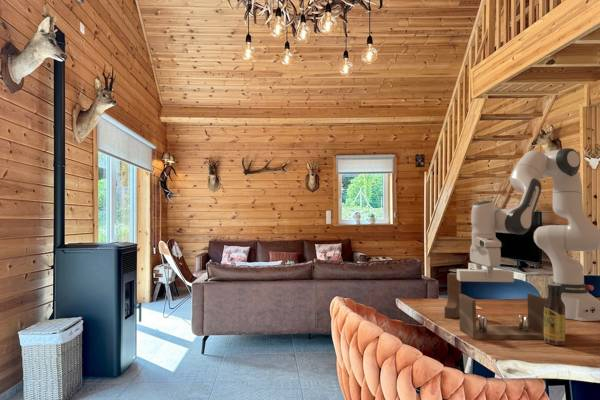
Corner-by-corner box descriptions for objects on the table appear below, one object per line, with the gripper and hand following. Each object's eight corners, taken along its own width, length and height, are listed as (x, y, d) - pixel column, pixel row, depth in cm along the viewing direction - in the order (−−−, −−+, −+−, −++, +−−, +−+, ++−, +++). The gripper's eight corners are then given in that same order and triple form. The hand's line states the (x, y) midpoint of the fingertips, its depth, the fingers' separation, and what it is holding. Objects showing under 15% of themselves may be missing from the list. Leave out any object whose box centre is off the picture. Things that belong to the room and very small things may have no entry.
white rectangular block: (508, 279, 169) (508, 269, 169) (513, 282, 163) (513, 271, 163) (456, 278, 172) (456, 269, 172) (459, 281, 166) (459, 271, 166)
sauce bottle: (539, 340, 144) (538, 282, 145) (556, 340, 144) (555, 282, 145) (552, 346, 137) (551, 285, 138) (570, 346, 138) (569, 285, 139)
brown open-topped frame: (531, 329, 158) (530, 293, 158) (550, 339, 146) (549, 300, 146) (459, 329, 158) (459, 293, 158) (472, 339, 146) (472, 300, 146)
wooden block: (455, 319, 175) (454, 275, 176) (444, 317, 178) (443, 274, 178) (461, 315, 182) (460, 273, 183) (451, 313, 185) (450, 272, 185)
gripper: (465, 239, 179) (466, 272, 178) (486, 243, 158) (487, 279, 158) (480, 239, 179) (481, 272, 178) (503, 242, 158) (504, 279, 158)
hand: (484, 275), depth 168 cm, fingers closed on white rectangular block, 6 cm apart
